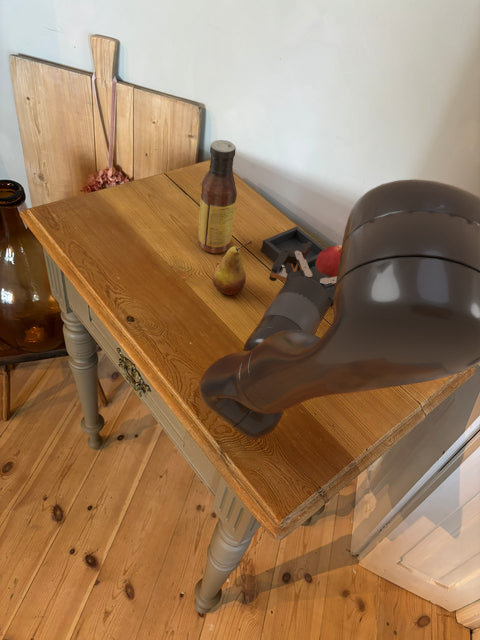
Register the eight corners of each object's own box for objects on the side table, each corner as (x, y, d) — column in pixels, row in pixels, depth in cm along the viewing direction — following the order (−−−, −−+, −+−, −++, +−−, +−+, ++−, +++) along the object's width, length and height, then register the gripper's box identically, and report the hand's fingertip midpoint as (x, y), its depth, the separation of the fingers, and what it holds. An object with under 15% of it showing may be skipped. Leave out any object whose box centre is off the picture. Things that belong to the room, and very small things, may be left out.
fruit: (236, 276, 83) (247, 221, 74) (247, 298, 79) (259, 243, 70) (206, 279, 81) (214, 223, 72) (216, 302, 77) (225, 247, 69)
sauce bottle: (236, 244, 89) (253, 147, 74) (217, 260, 85) (232, 161, 70) (208, 229, 90) (220, 132, 76) (189, 244, 86) (197, 144, 72)
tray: (293, 236, 93) (296, 226, 91) (357, 288, 85) (362, 278, 84) (260, 250, 88) (263, 240, 87) (325, 307, 81) (329, 296, 79)
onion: (304, 277, 84) (316, 242, 78) (322, 264, 87) (335, 230, 81) (330, 295, 82) (344, 260, 76) (347, 281, 85) (362, 247, 79)
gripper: (348, 319, 62) (380, 256, 72) (255, 275, 65) (299, 221, 75) (332, 353, 67) (364, 290, 78) (246, 311, 70) (288, 256, 81)
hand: (332, 256), depth 77 cm, fingers open, 8 cm apart
